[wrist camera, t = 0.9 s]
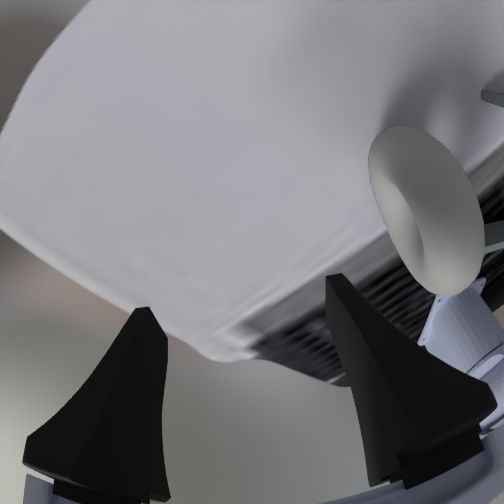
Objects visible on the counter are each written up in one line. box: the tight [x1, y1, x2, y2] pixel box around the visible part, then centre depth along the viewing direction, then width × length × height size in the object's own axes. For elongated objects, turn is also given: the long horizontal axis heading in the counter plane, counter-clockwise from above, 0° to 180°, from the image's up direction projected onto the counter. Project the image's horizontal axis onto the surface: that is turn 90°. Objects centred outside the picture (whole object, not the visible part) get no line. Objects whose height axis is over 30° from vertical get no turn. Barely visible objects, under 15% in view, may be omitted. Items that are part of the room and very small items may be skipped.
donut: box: [368, 125, 485, 296], centre depth 14 cm, size 10×4×10 cm, turn 28°
